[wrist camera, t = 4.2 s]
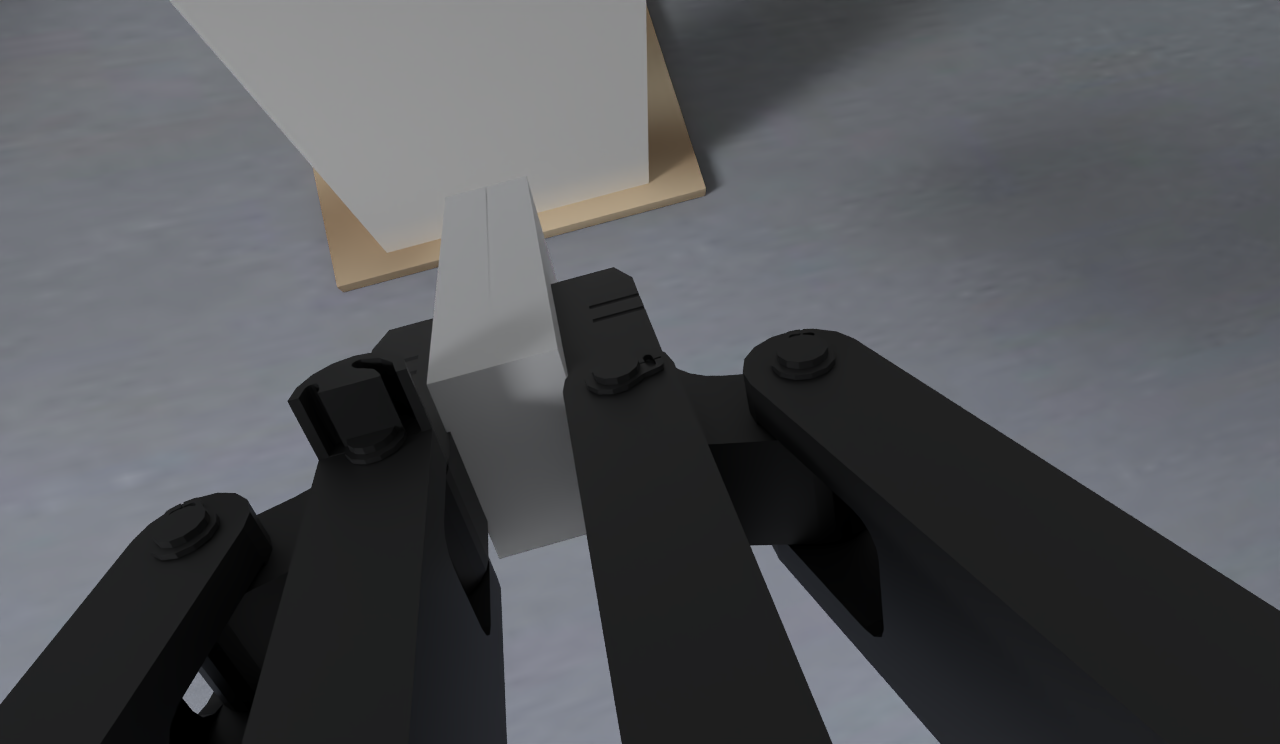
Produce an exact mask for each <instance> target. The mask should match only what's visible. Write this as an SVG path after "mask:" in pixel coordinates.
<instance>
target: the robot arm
mask: <svg viewBox="0 0 1280 744" xmlns="http://www.w3.org/2000/svg"><path fill="white" fill-rule="evenodd" d="M288 403H289V405H290V407H291V409H292V411H293V413H294V414H295V416H296V418H297V420H298V422H299V424H300V426H301V428H302V429H303V431H304V433H305V435H306V437H307V439H308V441H309V442H310V444H311V446H312V448H313V450H314V452H315V454H316V456H317V457H318V459H319V462H318V465H317V469H316V473H315V476H314V480H313V484H312V487H311V488H310V489H309V490H307V491H305V492H303V493H301V494H299V495H298V496H296V497H294V498H292V499H290V500H288V501H285V502H283V503H281V504H279V505H277V506H275V507H273V508H271V509H269V510H267V511H264V512H262V513H260V514H258V515H256V513H255V512H254V510H253V508H252V507H251V505H250V504H249V502H248V500H247V499H245V498H243V497H242V496H240V495H238V494H236V493H215V494H211V495H207V496H203V497H199V498H194V499H191V500H188V501H186V502H184V504H182V505H181V504H179V505H177V506H175V507H173V508H171V509H169V510H168V511H167V512H166V513H165V514H164V515H162V516H161V517H159V518H158V519H156V520H155V521H153V522H152V523H150V524H149V525H148V526H147V527H146V528H145V529H144V530H143V531H142V532H141V533H140V534H139V535H138V536H137V537H136V538H135V539H134V540H133V541H132V542H131V543H130V544H129V546H128V547H127V548H126V549H125V551H124V552H123V553H122V554H121V555H120V557H119V558H118V559H117V560H116V562H115V563H114V564H113V565H112V567H111V568H110V569H109V570H108V572H107V573H106V574H105V575H104V577H103V578H102V579H101V580H100V582H99V583H98V584H97V585H96V586H95V588H94V589H93V590H92V591H91V593H90V594H89V595H88V596H87V598H86V599H85V600H84V601H83V603H82V604H81V605H80V606H79V608H78V609H77V610H76V611H75V612H74V614H73V615H72V616H71V617H70V619H69V620H68V621H67V622H66V624H65V625H64V626H63V627H62V629H61V630H60V631H59V632H58V634H57V635H56V636H55V637H54V639H53V640H52V641H51V642H50V643H49V645H48V646H47V647H46V648H45V650H44V651H43V652H42V653H41V655H40V656H39V657H38V658H37V660H36V661H35V662H34V663H33V665H32V666H31V667H30V668H29V669H28V671H27V672H26V673H25V674H24V676H23V677H22V678H21V679H20V681H19V682H18V683H17V684H16V686H15V687H14V688H13V689H12V691H11V692H10V693H9V694H8V696H7V697H6V698H5V699H4V700H3V702H2V703H1V704H0V744H507V732H506V707H505V682H504V657H503V632H502V607H501V587H500V584H499V581H498V578H497V575H496V573H495V571H494V568H493V566H492V564H491V561H490V559H489V557H488V533H489V535H490V537H491V540H492V542H493V544H494V547H495V549H496V552H497V554H498V556H499V559H500V558H504V557H508V556H511V555H515V554H518V553H522V552H525V551H529V550H532V549H536V548H540V547H543V546H547V545H550V544H554V543H557V542H561V541H564V540H568V539H571V538H575V537H579V536H582V535H586V534H587V540H588V546H589V552H590V558H591V563H592V569H593V575H594V581H595V587H596V593H597V599H598V605H599V611H600V617H601V623H602V629H603V635H604V641H605V647H606V652H607V658H608V664H609V670H610V676H611V682H612V688H613V694H614V700H615V706H616V712H617V718H618V724H619V730H620V735H621V741H622V744H832V742H831V739H830V737H829V734H828V732H827V730H826V727H825V725H824V722H823V720H822V717H821V715H820V713H819V710H818V708H817V705H816V703H815V701H814V698H813V696H812V693H811V691H810V689H809V686H808V684H807V681H806V679H805V677H804V674H803V672H802V669H801V667H800V665H799V662H798V660H797V657H796V655H795V653H794V650H793V648H792V645H791V643H790V641H789V638H788V636H787V633H786V631H785V629H784V626H783V624H782V621H781V619H780V617H779V614H778V612H777V609H776V607H775V605H774V602H773V600H772V597H771V595H770V593H769V590H768V588H767V585H766V583H765V581H764V578H763V576H762V573H761V571H760V569H759V566H758V564H757V561H756V559H755V556H754V554H753V552H752V549H751V547H750V545H772V546H773V548H774V550H775V552H776V554H777V556H778V558H779V559H780V561H781V562H782V563H783V564H784V565H785V566H786V567H787V569H788V570H789V571H790V572H791V573H792V574H793V575H794V577H795V578H796V579H797V580H798V581H799V582H800V583H801V585H802V586H803V587H804V588H805V589H806V590H807V591H808V593H809V594H810V595H811V596H812V597H813V598H814V599H815V601H816V602H817V603H818V604H819V605H820V606H821V607H822V609H823V610H824V611H825V612H826V613H827V614H828V616H829V617H830V618H831V619H832V620H833V621H834V622H835V624H836V625H837V626H838V627H839V628H840V629H841V630H842V632H843V633H844V634H845V635H846V636H847V637H848V638H849V640H850V641H851V642H852V643H853V644H854V645H855V646H856V648H857V649H858V650H859V651H860V652H861V653H862V654H863V656H864V657H865V658H866V659H867V660H868V661H869V662H870V664H871V665H872V666H873V667H874V668H875V669H876V670H877V672H878V673H879V674H880V675H881V676H882V677H883V678H884V680H885V681H886V682H887V683H888V684H889V685H890V686H891V688H892V689H893V690H894V691H895V692H896V693H897V694H898V696H899V697H900V698H901V699H902V700H903V701H904V702H905V704H906V705H907V706H908V707H909V708H910V709H911V710H912V712H913V713H914V714H915V715H916V716H917V717H918V718H919V720H920V721H921V722H922V723H923V724H924V725H925V726H926V728H927V729H928V730H929V731H930V732H931V733H932V735H933V736H934V737H935V738H936V739H937V740H938V741H939V743H940V744H1280V611H1279V610H1278V609H1276V608H1274V607H1273V606H1271V605H1270V604H1268V603H1267V602H1265V601H1263V600H1262V599H1260V598H1259V597H1257V596H1256V595H1254V594H1253V593H1251V592H1249V591H1248V590H1246V589H1245V588H1243V587H1242V586H1240V585H1238V584H1237V583H1235V582H1234V581H1232V580H1231V579H1229V578H1228V577H1226V576H1224V575H1223V574H1221V573H1220V572H1218V571H1217V570H1215V569H1213V568H1212V567H1210V566H1209V565H1207V564H1206V563H1204V562H1202V561H1201V560H1199V559H1198V558H1196V557H1195V556H1193V555H1192V554H1190V553H1188V552H1187V551H1185V550H1184V549H1182V548H1181V547H1179V546H1177V545H1176V544H1174V543H1173V542H1171V541H1170V540H1168V539H1167V538H1165V537H1163V536H1162V535H1160V534H1159V533H1157V532H1156V531H1154V530H1152V529H1151V528H1149V527H1148V526H1146V525H1145V524H1143V523H1142V522H1140V521H1138V520H1137V519H1135V518H1134V517H1132V516H1131V515H1129V514H1127V513H1126V512H1124V511H1123V510H1121V509H1120V508H1118V507H1117V506H1115V505H1113V504H1112V503H1110V502H1109V501H1107V500H1106V499H1104V498H1102V497H1101V496H1099V495H1098V494H1096V493H1095V492H1093V491H1091V490H1090V489H1088V488H1087V487H1085V486H1084V485H1082V484H1081V483H1079V482H1077V481H1076V480H1074V479H1073V478H1071V477H1070V476H1068V475H1066V474H1065V473H1063V472H1062V471H1060V470H1059V469H1057V468H1056V467H1054V466H1052V465H1051V464H1049V463H1048V462H1046V461H1045V460H1043V459H1041V458H1040V457H1038V456H1037V455H1035V454H1034V453H1032V452H1031V451H1029V450H1027V449H1026V448H1024V447H1023V446H1021V445H1020V444H1018V443H1016V442H1015V441H1013V440H1012V439H1010V438H1009V437H1007V436H1005V435H1004V434H1002V433H1001V432H999V431H998V430H996V429H995V428H993V427H991V426H990V425H988V424H987V423H985V422H984V421H982V420H980V419H979V418H977V417H976V416H974V415H973V414H971V413H970V412H968V411H966V410H965V409H963V408H962V407H960V406H959V405H957V404H955V403H954V402H952V401H951V400H949V399H948V398H946V397H945V396H943V395H941V394H940V393H938V392H937V391H935V390H934V389H932V388H930V387H929V386H927V385H926V384H924V383H923V382H921V381H920V380H918V379H916V378H915V377H913V376H912V375H910V374H909V373H907V372H905V371H904V370H902V369H901V368H899V367H898V366H896V365H894V364H893V363H891V362H890V361H888V360H887V359H885V358H884V357H882V356H880V355H879V354H877V353H876V352H874V351H873V350H871V349H869V348H868V347H866V346H865V345H863V344H862V343H860V342H859V341H857V340H855V339H854V338H851V337H849V336H846V335H844V334H841V333H839V332H836V331H828V330H819V329H803V330H794V331H789V332H787V333H784V334H781V335H777V336H774V337H771V338H769V339H768V340H766V341H764V342H762V343H761V344H759V345H757V346H756V347H754V348H753V350H752V351H751V352H750V353H749V354H748V356H747V357H746V358H745V359H744V367H743V374H740V375H727V376H703V375H696V374H690V373H687V372H685V371H682V370H679V369H677V368H676V367H675V364H674V362H673V361H672V360H671V359H670V357H669V356H668V355H667V354H666V353H665V352H662V350H661V347H660V345H659V342H658V340H657V337H656V335H655V332H654V330H653V327H652V325H651V323H650V320H649V318H648V315H647V313H646V310H645V309H644V305H643V303H642V300H641V298H640V296H639V293H638V291H637V288H636V286H635V283H634V281H633V278H632V277H631V276H629V275H627V274H625V273H623V272H621V271H619V270H618V269H616V268H614V267H613V268H609V269H605V270H602V271H598V272H594V273H590V274H587V275H583V276H579V277H576V278H572V279H568V280H564V281H561V282H557V279H556V275H555V272H554V268H553V265H552V261H551V258H550V255H549V251H548V248H547V244H546V241H545V238H544V234H543V231H542V227H541V224H540V220H539V217H538V214H537V210H536V207H535V203H534V200H533V196H532V193H531V190H530V186H529V183H528V179H527V176H524V177H521V178H517V179H513V180H509V181H505V182H502V183H498V184H494V185H490V186H486V187H483V188H479V189H475V190H471V191H467V192H464V193H460V194H456V195H452V196H448V197H445V206H444V216H443V226H442V236H441V246H440V256H439V266H438V276H437V286H436V296H435V306H434V315H433V319H429V320H425V321H422V322H418V323H414V324H410V325H407V326H403V327H399V328H396V329H392V330H389V331H388V332H387V334H386V335H385V336H384V337H383V338H382V339H381V341H380V342H379V343H378V344H377V345H376V346H375V348H374V349H373V350H372V353H367V354H362V355H356V356H353V357H350V358H347V359H344V360H342V361H339V362H336V363H333V364H331V365H329V366H328V367H326V368H324V369H322V370H320V371H318V372H317V373H315V374H313V375H312V376H310V377H309V378H308V379H307V380H305V381H304V382H303V383H302V384H301V385H299V386H298V387H297V388H296V389H295V391H294V392H293V394H292V395H291V397H290V398H289V400H288ZM198 672H199V673H200V674H201V675H202V677H203V678H204V679H205V681H206V682H207V683H208V685H209V686H210V687H211V688H212V690H213V691H214V692H213V694H212V696H211V698H210V699H209V701H208V703H207V704H206V706H205V707H204V708H203V709H202V710H201V711H200V712H199V714H197V713H195V712H193V711H192V710H191V708H190V707H189V706H188V705H187V703H186V702H185V701H184V700H183V698H182V697H183V696H184V694H185V692H186V691H187V689H188V688H189V686H190V684H191V683H192V681H193V679H194V678H195V676H196V674H197V673H198Z"/></svg>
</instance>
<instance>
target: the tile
mask: <svg viewBox="0 0 1280 744" xmlns="http://www.w3.org/2000/svg"><path fill="white" fill-rule="evenodd" d="M169 1H170V2H171V3H172V4H173V5H174V7H175V8H176V9H177V10H178V11H179V12H180V13H181V15H182V16H183V17H184V18H185V19H186V20H187V22H188V23H189V24H190V25H191V26H192V27H193V29H194V30H195V31H196V32H197V33H198V34H199V35H200V37H201V38H202V39H203V40H204V41H205V42H206V44H207V45H208V46H209V47H210V48H211V49H212V51H213V52H214V53H215V54H216V55H217V56H218V58H219V59H220V60H221V61H222V62H223V63H224V64H225V66H226V67H227V68H228V69H229V70H230V71H231V73H232V74H233V75H234V76H235V77H236V78H237V80H238V81H239V82H240V83H241V84H242V85H243V87H244V88H245V89H246V90H247V91H248V92H249V93H250V95H251V96H252V97H253V98H254V99H255V100H256V102H257V103H258V104H259V105H260V106H261V107H262V109H263V110H264V111H265V112H266V113H267V114H268V116H269V117H270V118H271V119H272V120H273V121H274V122H275V124H276V125H277V126H278V127H279V128H280V129H281V131H282V132H283V133H284V134H285V135H286V136H287V138H288V139H289V140H290V141H291V142H292V143H293V144H294V146H295V147H296V148H297V149H298V150H299V151H300V153H301V154H302V155H303V156H304V157H305V158H306V160H307V161H308V162H309V163H310V164H311V165H312V167H313V168H314V169H315V170H316V171H317V172H318V173H319V175H320V176H321V177H322V178H323V179H324V180H325V182H326V183H327V184H328V185H329V186H330V187H331V189H332V190H333V191H334V192H335V193H336V194H337V196H338V197H339V198H340V199H341V200H342V201H343V202H344V204H345V205H346V206H347V207H348V208H349V209H350V211H351V212H352V213H353V214H354V215H355V216H356V218H357V219H358V220H359V221H360V222H361V223H362V225H363V226H364V227H365V228H366V229H367V230H368V231H369V233H370V234H371V235H372V236H373V237H374V238H375V240H376V241H377V242H378V243H379V244H380V245H381V247H382V248H383V249H384V250H385V251H386V252H387V253H388V252H392V251H396V250H400V249H403V248H407V247H411V246H415V245H418V244H422V243H426V242H430V241H433V240H437V239H441V236H442V226H443V216H444V206H445V197H448V196H452V195H456V194H460V193H464V192H467V191H471V190H475V189H479V188H483V187H486V186H490V185H494V184H498V183H502V182H505V181H509V180H513V179H517V178H521V177H524V176H527V179H528V183H529V186H530V190H531V193H532V196H533V200H534V203H535V207H536V210H537V213H539V212H543V211H546V210H550V209H554V208H558V207H561V206H565V205H569V204H573V203H576V202H580V201H584V200H588V199H591V198H595V197H599V196H603V195H606V194H610V193H614V192H618V191H622V190H625V189H629V188H633V187H637V186H640V185H644V184H648V183H649V161H648V97H647V33H646V0H169Z"/></svg>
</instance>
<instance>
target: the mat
mask: <svg viewBox="0 0 1280 744" xmlns="http://www.w3.org/2000/svg"><path fill="white" fill-rule="evenodd" d="M646 33H647V97H648V161H649V183H648V184H644V185H640V186H637V187H633V188H629V189H625V190H622V191H618V192H614V193H610V194H606V195H603V196H599V197H595V198H591V199H588V200H584V201H580V202H576V203H573V204H569V205H565V206H561V207H558V208H554V209H550V210H546V211H543V212H539V213H537V214H538V217H539V220H540V224H541V227H542V231H543V234H544V238H548V237H552V236H556V235H560V234H563V233H567V232H571V231H575V230H578V229H582V228H586V227H590V226H593V225H597V224H601V223H604V222H608V221H612V220H616V219H619V218H623V217H627V216H631V215H634V214H638V213H642V212H646V211H649V210H653V209H657V208H661V207H664V206H668V205H672V204H676V203H679V202H683V201H687V200H690V199H694V198H698V197H702V196H705V192H706V187H705V184H704V181H703V178H702V175H701V172H700V169H699V165H698V162H697V159H696V156H695V153H694V150H693V147H692V144H691V141H690V138H689V135H688V131H687V128H686V125H685V122H684V119H683V116H682V113H681V110H680V107H679V104H678V101H677V98H676V94H675V91H674V88H673V85H672V82H671V79H670V76H669V73H668V70H667V67H666V64H665V61H664V57H663V54H662V51H661V48H660V45H659V42H658V39H657V36H656V33H655V30H654V27H653V24H652V20H651V17H650V14H649V11H648V8H647V5H646ZM313 171H314V176H315V181H316V185H317V190H318V195H319V200H320V205H321V210H322V215H323V220H324V225H325V230H326V234H327V239H328V244H329V249H330V254H331V259H332V264H333V269H334V274H335V278H336V283H337V287H338V288H339V289H340V290H341V291H342V292H346V291H350V290H354V289H358V288H361V287H365V286H369V285H373V284H376V283H380V282H384V281H388V280H391V279H395V278H399V277H403V276H406V275H410V274H414V273H417V272H421V271H425V270H429V269H432V268H436V267H438V266H439V256H440V246H441V239H437V240H433V241H430V242H426V243H422V244H418V245H415V246H411V247H407V248H403V249H400V250H396V251H392V252H388V253H387V252H386V251H385V250H384V249H383V248H382V247H381V245H380V244H379V243H378V242H377V241H376V240H375V238H374V237H373V236H372V235H371V234H370V233H369V231H368V230H367V229H366V228H365V227H364V226H363V225H362V223H361V222H360V221H359V220H358V219H357V218H356V216H355V215H354V214H353V213H352V212H351V211H350V209H349V208H348V207H347V206H346V205H345V204H344V202H343V201H342V200H341V199H340V198H339V197H338V196H337V194H336V193H335V192H334V191H333V190H332V189H331V187H330V186H329V185H328V184H327V183H326V182H325V180H324V179H323V178H322V177H321V176H320V175H319V173H318V172H317V171H316V170H315V169H314V168H313Z"/></svg>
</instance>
